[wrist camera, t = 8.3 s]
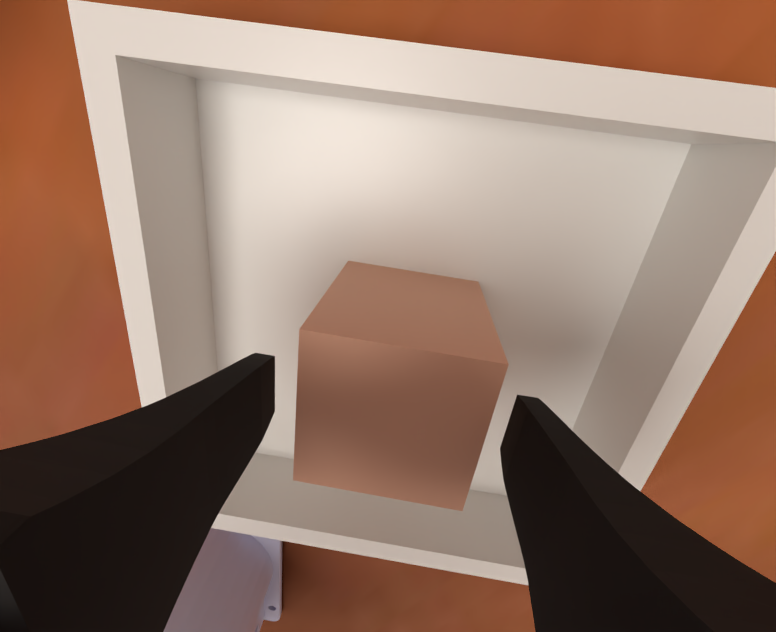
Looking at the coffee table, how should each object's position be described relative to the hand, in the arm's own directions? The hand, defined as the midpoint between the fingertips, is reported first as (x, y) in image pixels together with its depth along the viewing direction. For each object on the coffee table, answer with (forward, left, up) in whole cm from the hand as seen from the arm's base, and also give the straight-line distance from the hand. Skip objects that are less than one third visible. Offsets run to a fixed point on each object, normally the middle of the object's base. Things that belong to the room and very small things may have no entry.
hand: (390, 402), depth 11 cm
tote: (0, 0, -5) cm, 5 cm away
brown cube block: (0, 0, -5) cm, 5 cm away
